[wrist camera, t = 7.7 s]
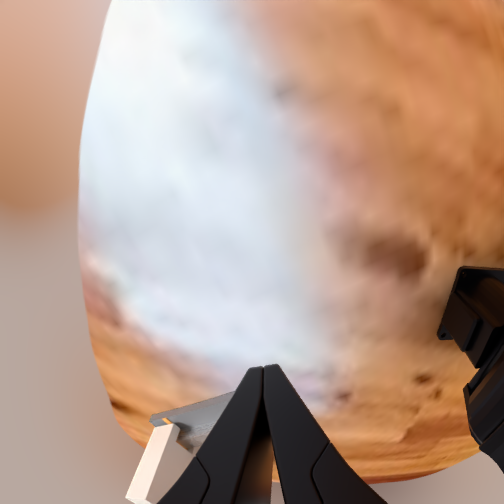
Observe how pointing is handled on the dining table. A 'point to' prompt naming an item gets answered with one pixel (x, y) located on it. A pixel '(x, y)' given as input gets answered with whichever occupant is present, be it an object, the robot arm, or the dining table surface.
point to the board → (193, 413)
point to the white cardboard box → (159, 466)
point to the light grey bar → (194, 435)
